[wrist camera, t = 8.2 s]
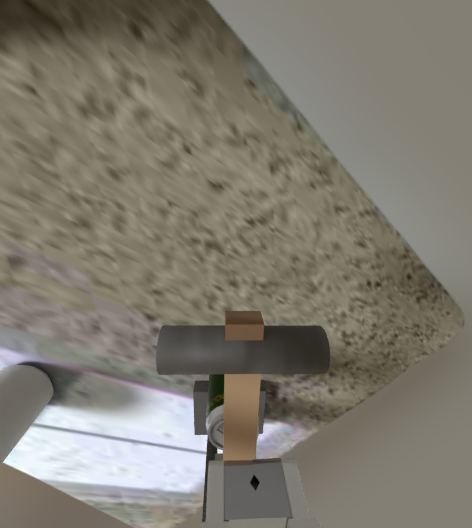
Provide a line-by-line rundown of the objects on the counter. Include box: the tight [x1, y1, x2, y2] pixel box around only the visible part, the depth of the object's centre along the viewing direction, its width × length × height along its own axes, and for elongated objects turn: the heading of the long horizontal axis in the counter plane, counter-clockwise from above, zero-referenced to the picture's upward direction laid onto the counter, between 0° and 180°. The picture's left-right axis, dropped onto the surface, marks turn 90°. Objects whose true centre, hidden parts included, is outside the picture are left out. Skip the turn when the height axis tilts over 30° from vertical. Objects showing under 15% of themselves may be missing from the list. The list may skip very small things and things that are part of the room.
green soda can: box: [206, 374, 260, 450], centre depth 31 cm, size 5×5×12 cm
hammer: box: [156, 311, 330, 461], centre depth 19 cm, size 26×9×4 cm, turn 178°
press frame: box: [193, 380, 266, 522], centre depth 30 cm, size 8×10×20 cm
